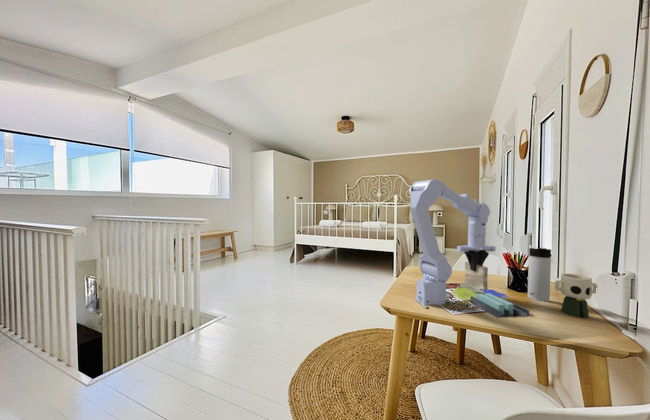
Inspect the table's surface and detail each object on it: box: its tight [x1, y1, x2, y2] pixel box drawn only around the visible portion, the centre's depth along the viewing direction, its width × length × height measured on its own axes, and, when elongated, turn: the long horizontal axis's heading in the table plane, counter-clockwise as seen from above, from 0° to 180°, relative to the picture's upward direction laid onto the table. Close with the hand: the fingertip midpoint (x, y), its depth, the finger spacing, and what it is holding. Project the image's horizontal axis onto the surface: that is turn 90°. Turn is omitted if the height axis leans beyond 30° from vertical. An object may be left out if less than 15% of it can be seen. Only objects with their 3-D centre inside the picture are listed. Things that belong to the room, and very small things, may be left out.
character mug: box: [554, 272, 598, 319], centre depth 81 cm, size 11×7×13 cm, turn 75°
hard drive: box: [481, 288, 509, 299], centre depth 102 cm, size 2×8×12 cm
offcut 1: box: [475, 293, 505, 314], centre depth 85 cm, size 2×10×3 cm, turn 8°
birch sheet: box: [464, 261, 489, 290], centre depth 98 cm, size 2×10×8 cm, turn 8°
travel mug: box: [527, 247, 552, 303], centre depth 94 cm, size 6×7×20 cm
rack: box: [465, 296, 535, 319], centre depth 86 cm, size 13×14×2 cm
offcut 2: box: [483, 292, 515, 314], centre depth 86 cm, size 2×10×3 cm, turn 7°
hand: (475, 270), depth 98 cm, fingers closed on birch sheet, 2 cm apart
